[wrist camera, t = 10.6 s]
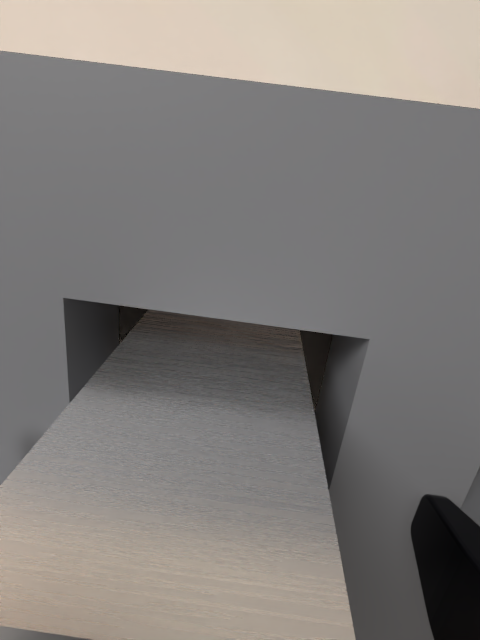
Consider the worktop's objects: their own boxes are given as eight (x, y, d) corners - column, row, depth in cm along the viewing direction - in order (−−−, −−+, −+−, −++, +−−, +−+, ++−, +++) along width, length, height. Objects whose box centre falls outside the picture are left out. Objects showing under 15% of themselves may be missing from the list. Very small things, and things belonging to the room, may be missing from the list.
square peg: (276, 437, 12) (287, 867, 5) (151, 420, 12) (-32, 814, 5) (298, 321, 11) (362, 679, 3) (154, 302, 11) (-104, 609, 3)
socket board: (604, 601, 14) (689, 712, 11) (52, 519, 14) (-1, 605, 11) (908, 187, 8) (1223, 198, 6) (11, 78, 9) (-107, 37, 6)
